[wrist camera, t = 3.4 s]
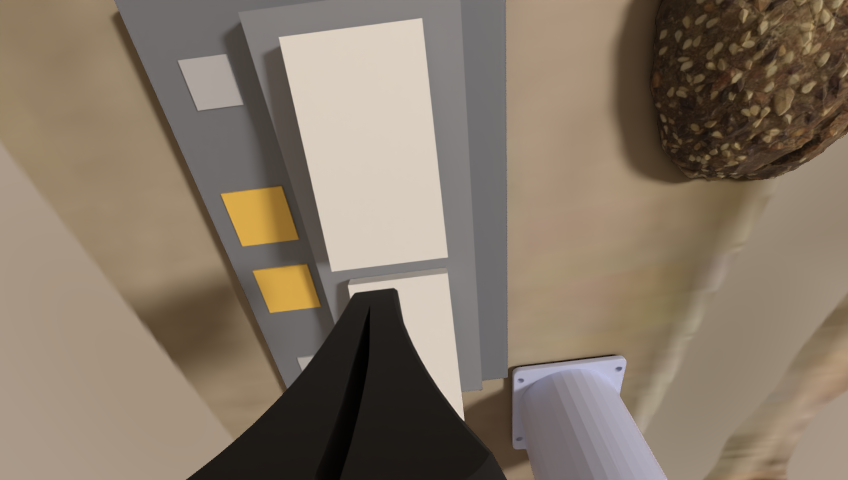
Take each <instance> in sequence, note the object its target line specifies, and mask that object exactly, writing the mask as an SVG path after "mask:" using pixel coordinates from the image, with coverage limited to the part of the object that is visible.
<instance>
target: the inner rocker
mask: <svg viewBox="0 0 848 480" xmlns="http://www.w3.org/2000/svg"><path fill="white" fill-rule="evenodd" d="M388 288H395V289H396V290H398V295H399V300H400V305H401V310H402V316H403V321H404V324H405V327H406V329H407V331H408V334H409V336H410V339H411V341H412V343H413V345H414V347H415V349H416V351H417V353H418V355H419V357H420V359H421V360H422V362H423V364H424V366H425V367H426V369H427V371H428V372H429V374H430V376H431V377H432V379H433V380H434V382H435V383H436V385H437V386H438V388H439V389H440V391H441V392H442V394H443V395H444V396H445V398H446V399H447V400H448V402H449V403H450V404H451V406H452V407H453V408H454V410H455V411H456V412H457V414H458V415H459V416H460V417H461V418H462V420H463V421H464V412H463V404H462V395H461V386H460V377H459V368H458V359H457V351H456V342H455V333H454V324H453V315H452V307H451V298H450V289H449V280H448V272H447V268H438V269H430V270H421V271H413V272H405V273H397V274H389V275H381V276H373V277H365V278H357V279H350V281H349V284H348V289H349V294H350V299H351V297H352V296H353V295H354V293H357V292H365V291H372V290H380V289H388Z"/></svg>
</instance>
